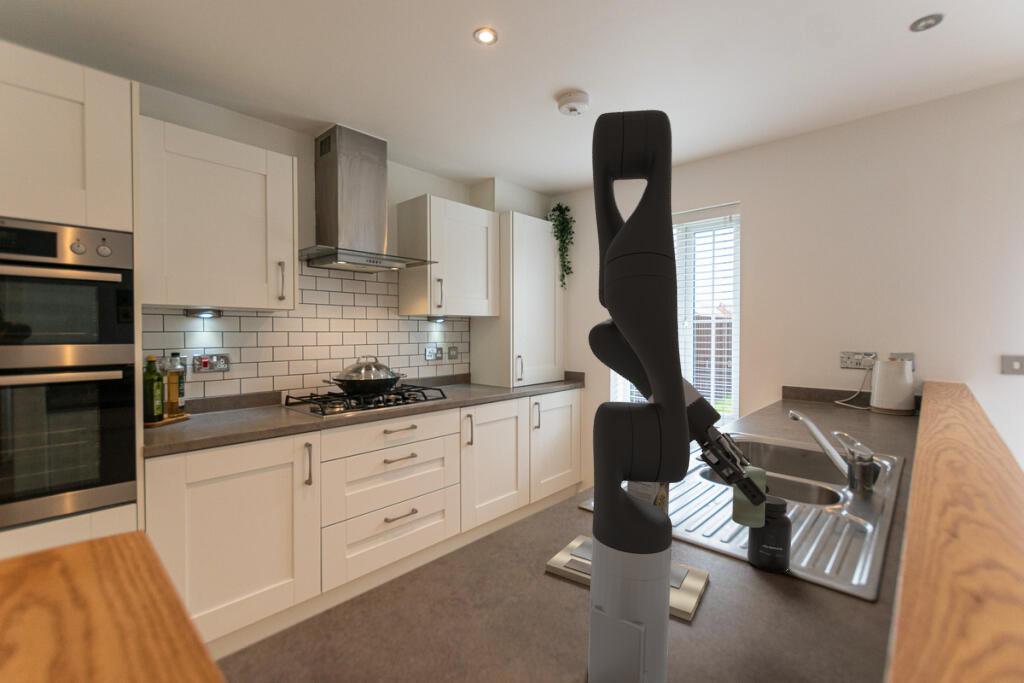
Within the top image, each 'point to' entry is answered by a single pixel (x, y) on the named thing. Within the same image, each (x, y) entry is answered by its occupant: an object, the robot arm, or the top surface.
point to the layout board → (683, 578)
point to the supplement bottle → (771, 538)
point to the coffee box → (651, 493)
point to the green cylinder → (743, 507)
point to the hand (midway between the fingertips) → (763, 497)
